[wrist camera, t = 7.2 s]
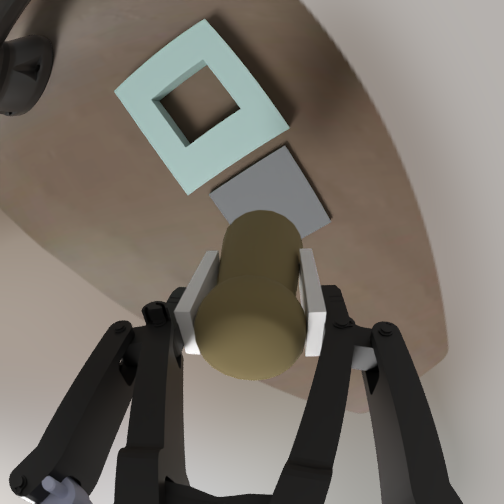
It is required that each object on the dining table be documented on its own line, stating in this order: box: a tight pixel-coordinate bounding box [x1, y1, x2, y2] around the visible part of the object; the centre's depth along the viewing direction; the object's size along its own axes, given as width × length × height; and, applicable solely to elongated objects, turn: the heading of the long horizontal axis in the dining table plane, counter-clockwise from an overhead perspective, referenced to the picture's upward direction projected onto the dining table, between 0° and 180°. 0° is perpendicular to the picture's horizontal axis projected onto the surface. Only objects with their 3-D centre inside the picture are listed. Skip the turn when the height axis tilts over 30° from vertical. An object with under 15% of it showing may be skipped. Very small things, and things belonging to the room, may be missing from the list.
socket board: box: [114, 19, 289, 195], centre depth 28 cm, size 17×14×2 cm
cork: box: [194, 210, 307, 380], centre depth 16 cm, size 6×6×11 cm
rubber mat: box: [209, 145, 331, 239], centre depth 33 cm, size 11×11×1 cm
